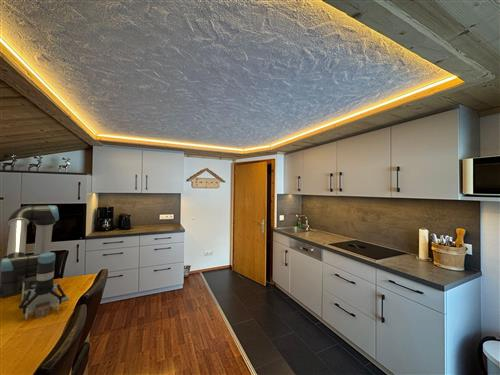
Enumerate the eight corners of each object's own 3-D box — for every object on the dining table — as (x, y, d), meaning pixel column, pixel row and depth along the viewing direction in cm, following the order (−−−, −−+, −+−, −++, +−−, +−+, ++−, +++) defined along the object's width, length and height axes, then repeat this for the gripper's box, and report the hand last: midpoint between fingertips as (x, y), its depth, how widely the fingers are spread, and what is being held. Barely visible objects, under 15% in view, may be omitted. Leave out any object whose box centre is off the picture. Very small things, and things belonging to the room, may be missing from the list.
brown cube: (35, 314, 123) (35, 304, 123) (48, 310, 128) (49, 300, 128) (35, 318, 119) (36, 308, 119) (49, 314, 123) (50, 304, 124)
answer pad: (51, 299, 139) (51, 298, 139) (66, 295, 145) (67, 294, 145) (52, 304, 134) (52, 303, 134) (68, 300, 140) (68, 299, 140)
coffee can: (46, 296, 143) (48, 276, 144) (28, 303, 133) (30, 282, 133) (35, 293, 145) (37, 274, 146) (16, 301, 135) (18, 280, 135)
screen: (27, 311, 125) (29, 291, 126) (54, 304, 134) (55, 285, 134) (27, 314, 122) (29, 294, 122) (55, 307, 131) (56, 288, 131)
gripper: (14, 287, 112) (10, 325, 112) (72, 275, 131) (70, 308, 130) (14, 282, 117) (11, 319, 117) (71, 271, 136) (68, 303, 135)
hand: (42, 313), depth 123 cm, fingers open, 13 cm apart
